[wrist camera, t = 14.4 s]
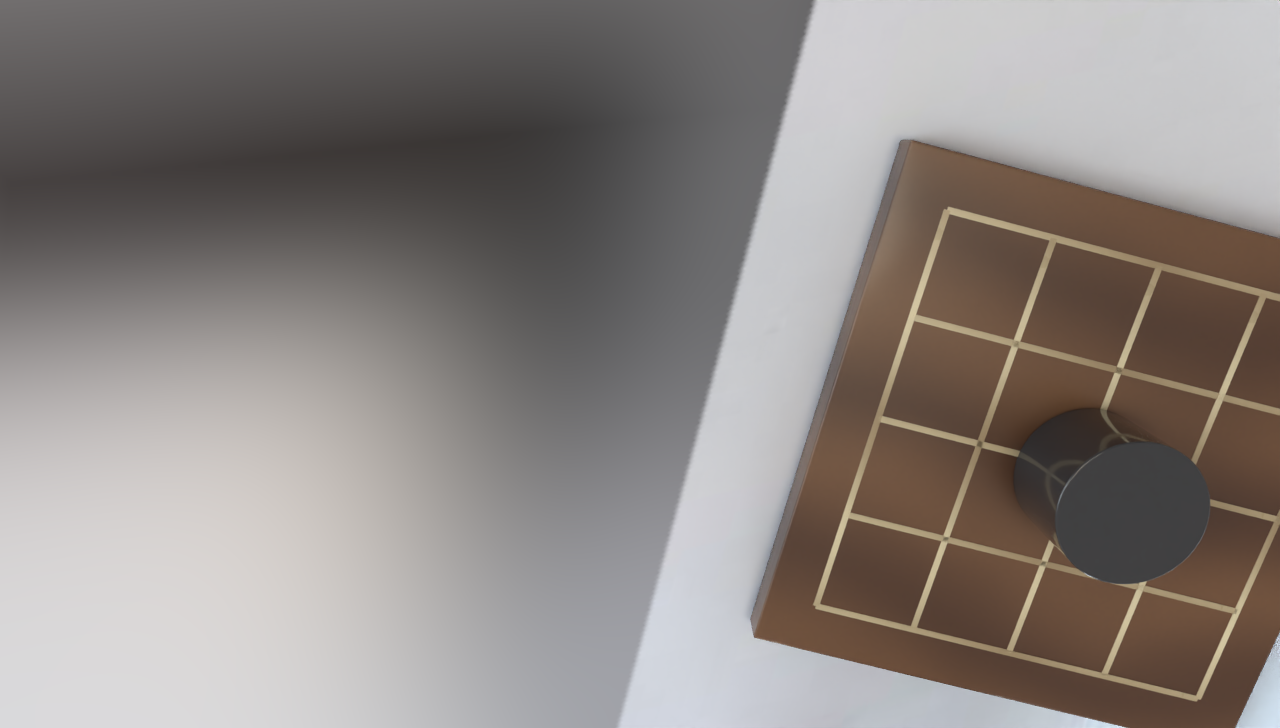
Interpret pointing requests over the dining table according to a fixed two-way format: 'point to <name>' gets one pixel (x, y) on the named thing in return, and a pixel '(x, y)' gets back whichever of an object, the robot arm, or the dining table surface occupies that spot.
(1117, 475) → the dark grey puck
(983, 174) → the board
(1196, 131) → the dining table surface
